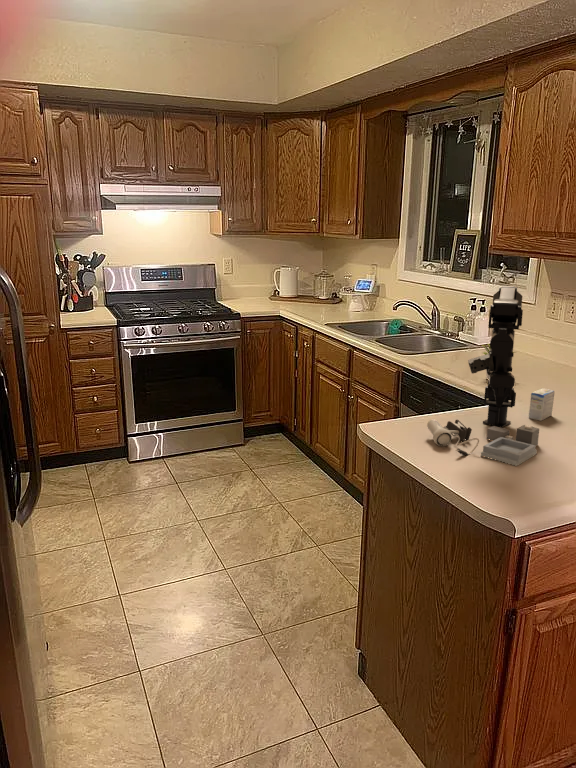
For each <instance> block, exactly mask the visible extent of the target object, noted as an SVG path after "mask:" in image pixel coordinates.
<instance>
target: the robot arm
mask: <svg viewBox="0 0 576 768" xmlns="http://www.w3.org/2000/svg"><path fill="white" fill-rule="evenodd" d="M522 307H523V295H522V294H521V292H519V291H518V287H517V286H515V285H502V286H501V285H500V286H499V288H498V291H497V292H495V293H494V294H493V296H492V303H491V304H490V307H489V318H488V326H487V327H488V328H487V329H492V332H491V333H492V334H491V337H490V342H489V345H490V348H491V349H489V354H487V355H485V354H484V355H479V356H476V357H473V358H469V359H468V360H467V361H468V362H467V363H468V366H469V367H468V368H469V370H470V373H471V374H473V375H474V374H477V373H478V372H482V371H486V370H487V374H488V375H489V380H488V382H487V385H485V386H484V400H483V405H484V406H488V407H487V408H488V409H487V419H485V420H483V421H482V423H483V424H485V423H486V425H489V424H490V426H496V427H500V428H504V427H506V426H507V425H510V424H511V423H512V421H510V420H508V408H513V407H515V406H516V396H517V392H515V388H514V387H515V382H516V381H515V380H516V377H515V375H513V374H512V372H513V358H514V353H513V352H514V343H515V333H516V331H515V330H520V327H521V326H522V324H523V323H522V322H523V314H524V313H523V312H524V311H523V310H524V309H522Z"/></svg>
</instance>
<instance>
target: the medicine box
mask: <svg viewBox="0 0 576 768" xmlns="http://www.w3.org/2000/svg"><path fill="white" fill-rule="evenodd" d="M554 399H555V390H552V389H549V388H542V387H541V388H540V389H537V390H535V391H533V392H531V393H530V400H529V411H528V419H531V420H536V421H541V422H542V421H543V420H545V419H547V418H550V416H552V413H553V409H554V408H553V407H554V401H555V400H554Z"/></svg>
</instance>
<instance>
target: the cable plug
mask: <svg viewBox="0 0 576 768" xmlns="http://www.w3.org/2000/svg"><path fill="white" fill-rule="evenodd" d="M510 430H511V429H508V428H504V427H497V426H493V425H491V426H489V427H487V430H486V440H487V439H490V440H493V441H494V440H496V439H498V438H499V437H503V438H507V439H511V440H514V436H511V435H510V432H511V431H510ZM490 440H489V441H490Z"/></svg>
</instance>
